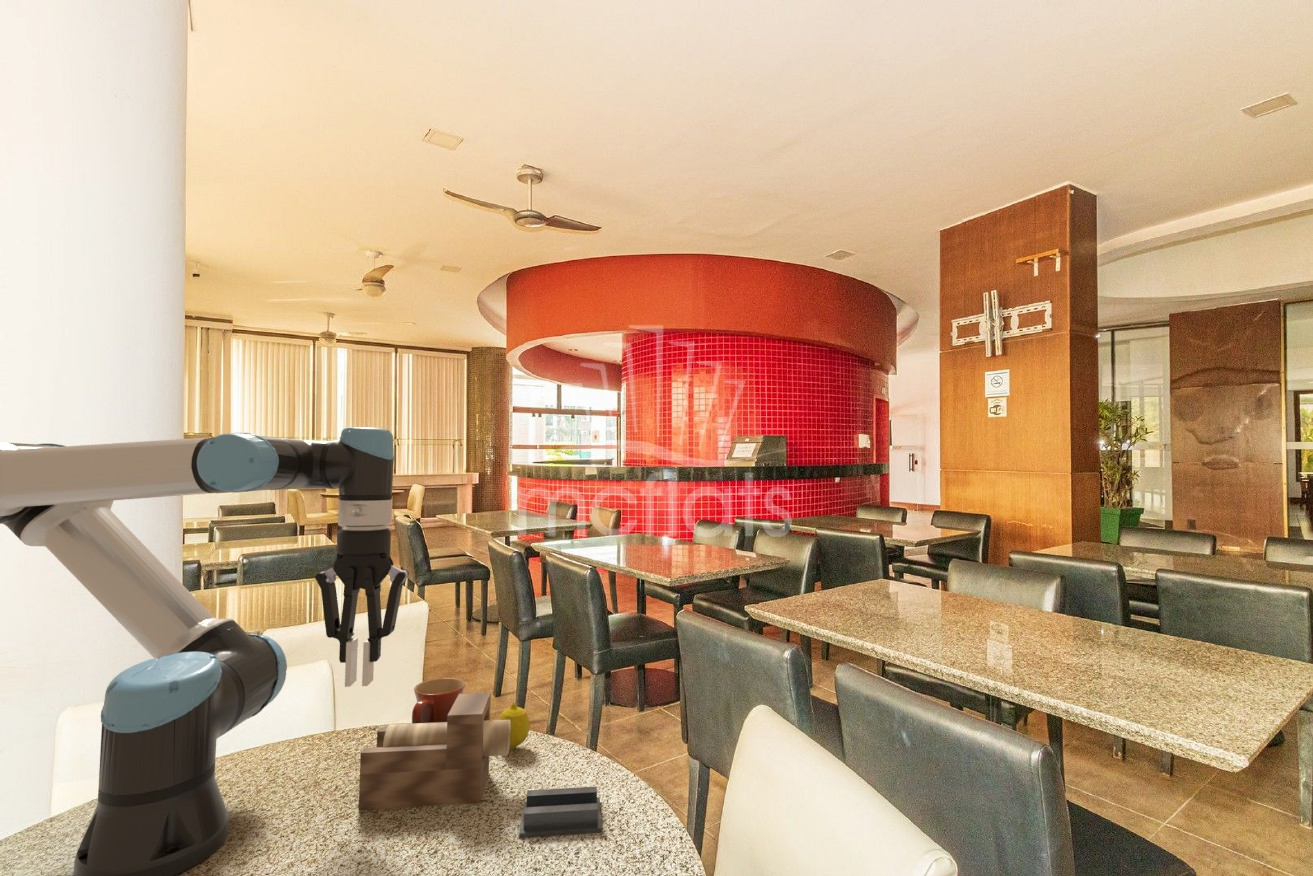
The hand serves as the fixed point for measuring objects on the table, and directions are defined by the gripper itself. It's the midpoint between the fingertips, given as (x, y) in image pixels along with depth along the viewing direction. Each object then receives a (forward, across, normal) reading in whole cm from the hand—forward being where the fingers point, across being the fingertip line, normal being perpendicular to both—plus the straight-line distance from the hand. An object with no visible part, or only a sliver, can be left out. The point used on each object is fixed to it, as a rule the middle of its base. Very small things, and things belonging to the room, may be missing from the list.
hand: (359, 683), depth 93 cm
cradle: (+16, +31, -10) cm, 36 cm away
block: (+16, +10, 0) cm, 20 cm away
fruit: (+17, +22, +13) cm, 31 cm away
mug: (+17, +8, +15) cm, 24 cm away
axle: (+11, +14, 0) cm, 18 cm away
